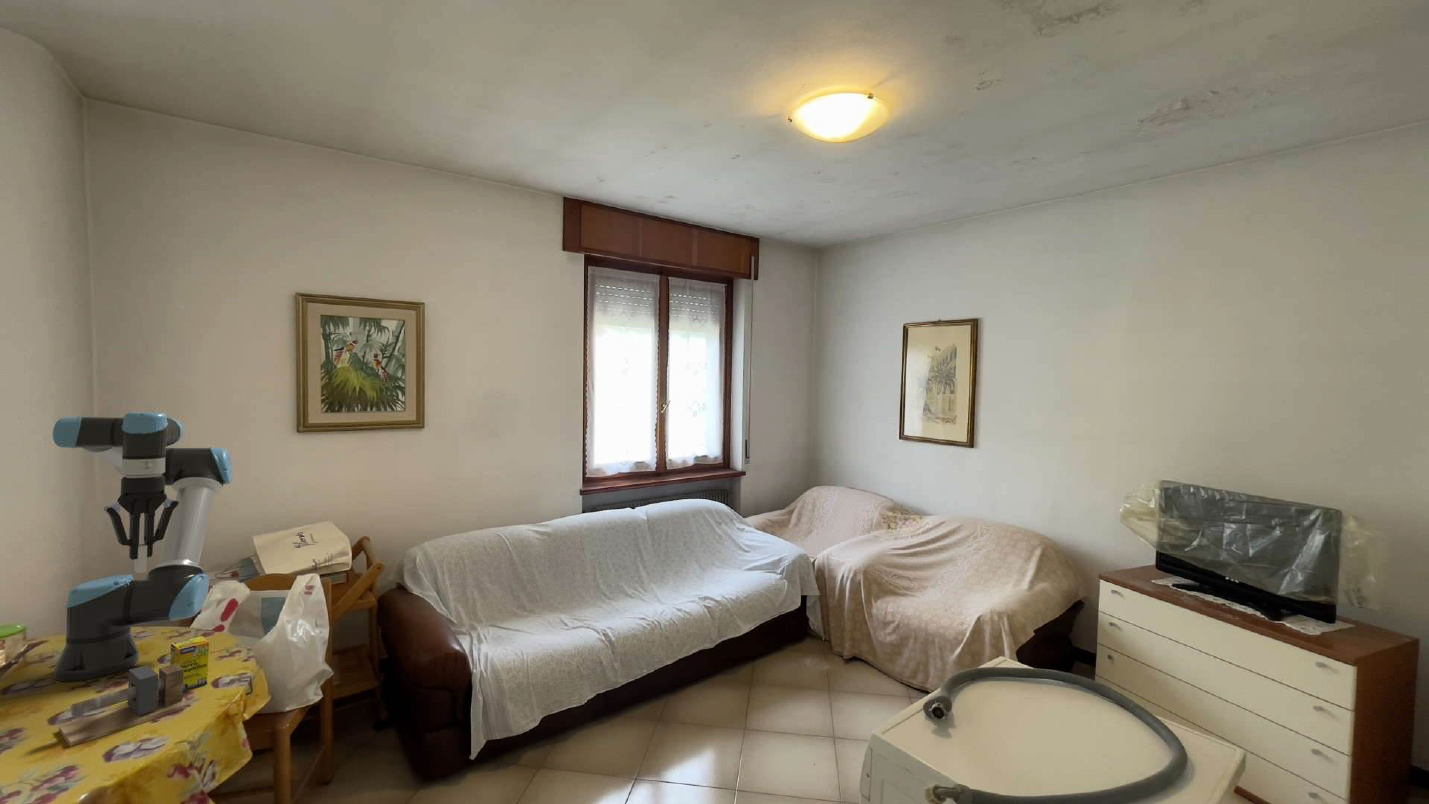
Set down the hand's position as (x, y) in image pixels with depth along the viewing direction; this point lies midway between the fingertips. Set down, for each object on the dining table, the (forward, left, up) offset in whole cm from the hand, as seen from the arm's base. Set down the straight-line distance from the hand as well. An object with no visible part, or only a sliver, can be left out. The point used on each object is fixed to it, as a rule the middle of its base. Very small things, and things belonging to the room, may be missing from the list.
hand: (140, 571), depth 137 cm
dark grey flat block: (+13, -2, -28) cm, 31 cm away
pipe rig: (+13, -5, -30) cm, 33 cm away
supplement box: (+5, +8, -30) cm, 32 cm away
